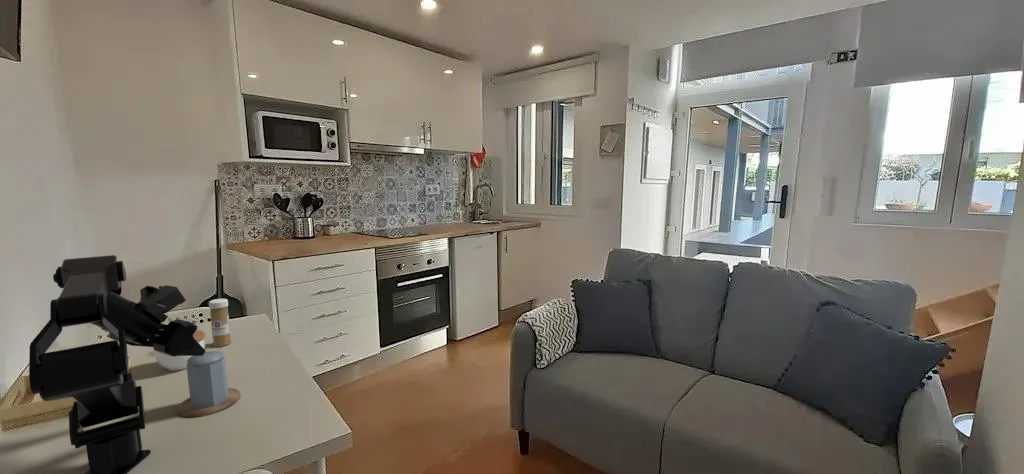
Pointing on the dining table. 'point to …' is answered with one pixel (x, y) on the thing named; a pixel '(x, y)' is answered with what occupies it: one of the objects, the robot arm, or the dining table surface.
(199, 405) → the blue dome cap nut
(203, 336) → the lidded jar
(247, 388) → the dining table surface
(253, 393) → the dining table surface
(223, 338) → the sprinkles bottle
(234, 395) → the brown pegged disc
